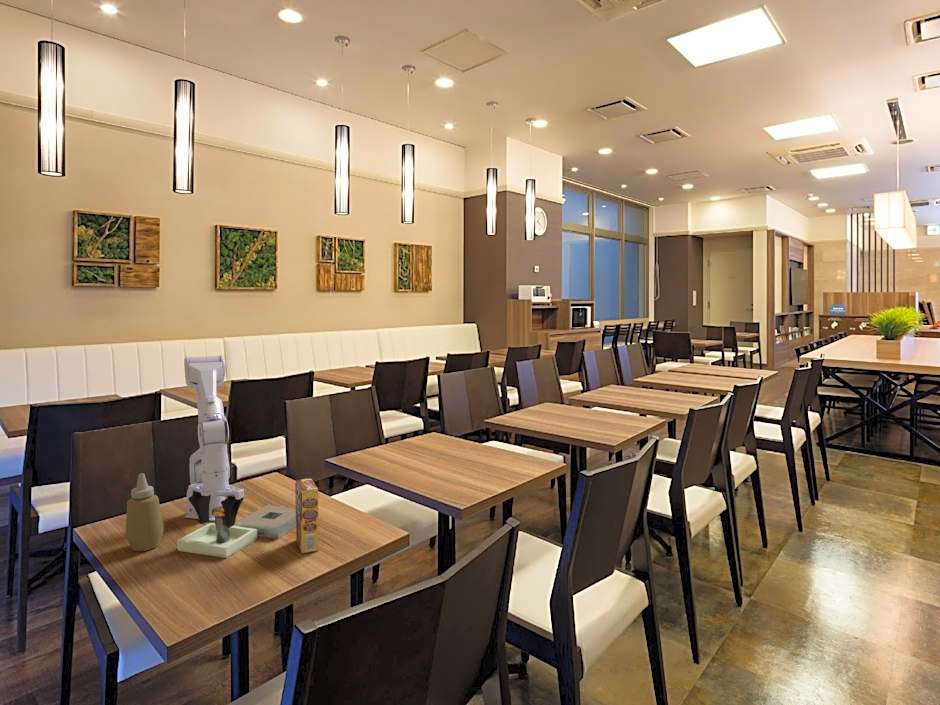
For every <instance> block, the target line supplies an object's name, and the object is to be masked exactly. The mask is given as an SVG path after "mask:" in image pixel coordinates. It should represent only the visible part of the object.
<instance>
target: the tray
mask: <svg viewBox="0 0 940 705" xmlns="http://www.w3.org/2000/svg"><path fill="white" fill-rule="evenodd" d="M229 539H230V540H229V541H228V542H225V543H217V542H216V529H215V522H214V523H213V522H209V523H207V524H205V525H204V526H201V527H199V528H198V529H196V530H194V531H192V532H189V533H188V534H186V535H185V536H183V537H181V538H179V539H177V540H176V543H177V545H176V546H177V551H179V552H184V553H185V552H186V553H192V554H198V555H203V556H204V555H205V556H211V557H216V558H222V559H228V558H230V557H231V556H233V555H234V554H236V553H238V552H239V551H241V550H242V549H244V548H245V547H247V546H248V545H250V544H251V543H254V542H255V541H256V540H258V536H257V529H252V528H245V527H238V525H233V526H232V527H230V528H229Z"/></svg>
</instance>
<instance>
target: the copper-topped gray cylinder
mask: <svg viewBox="0 0 940 705" xmlns="http://www.w3.org/2000/svg"><path fill="white" fill-rule="evenodd" d="M212 515H213V516H215V521H214V523H215V529H216V542H217V543H225V542H228V541H229V540H230V539H229V528H227V527H226V521H225V513H224V509H223V506H219V507H216V508H213V509H212Z"/></svg>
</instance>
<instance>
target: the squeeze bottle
mask: <svg viewBox="0 0 940 705" xmlns="http://www.w3.org/2000/svg"><path fill="white" fill-rule="evenodd" d="M154 489H155V488H154V487H153V486H152V485H149V484H148V481H147V478H146V475H145V472H144V473H143V472H142V473H139V474H138V476H137V481H136V487H134V488H133V489H131V490H130V493H131V494H130V495H131V498H129V499H128V500H127V502H126V516H125V517H126V520H125V534H124V535H125V538H126V540H127V541H128V544H129V546H130V549H131V550H132V551H134V552H145V551H148V550H153V549H155V548H156V547H158V546H159V545H160V544H161V540H162V538H163V537H162V536H163V534H164V530H165V528H164V522H163V521H164V520H163V516H162V510H161V505H160V499H159V496H158V495H156V494H155V490H154Z"/></svg>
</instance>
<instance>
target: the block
mask: <svg viewBox="0 0 940 705" xmlns="http://www.w3.org/2000/svg"><path fill="white" fill-rule="evenodd" d="M237 526H238V527H245V528H252V529H257V537H261V538H262V537H264V538H270V539H278V540H279V539H281V538H282V537H284V536H285V535H286V534H288V533H289V532H292V530H294V529H296V508H293V507H284V506H276V505H269V504H266V505H265V506H262V507H261V508H259V509H258V510H256V511H254V512H252V513H250V514H249V515H247V516H245V517H244V518H242V519H239V520H238V521H237Z"/></svg>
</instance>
